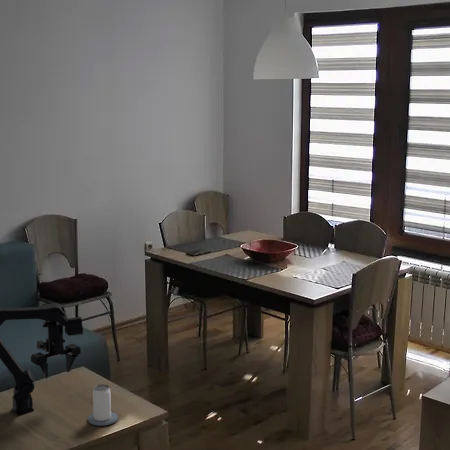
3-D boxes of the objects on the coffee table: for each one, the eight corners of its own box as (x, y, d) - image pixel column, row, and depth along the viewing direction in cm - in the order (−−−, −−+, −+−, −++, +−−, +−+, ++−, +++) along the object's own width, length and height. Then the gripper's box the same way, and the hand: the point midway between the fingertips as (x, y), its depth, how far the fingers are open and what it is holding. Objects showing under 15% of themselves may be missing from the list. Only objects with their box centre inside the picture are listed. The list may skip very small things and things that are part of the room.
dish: (98, 429, 252) (98, 427, 252) (82, 419, 260) (82, 416, 260) (123, 420, 259) (123, 418, 259) (107, 410, 267) (107, 408, 267)
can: (107, 422, 255) (106, 391, 253) (91, 420, 256) (90, 390, 254) (113, 414, 262) (112, 384, 259) (97, 413, 263) (96, 383, 261)
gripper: (66, 326, 277) (68, 363, 280) (23, 336, 265) (25, 375, 267) (81, 333, 269) (82, 371, 272) (36, 344, 256) (38, 384, 259)
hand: (57, 375), depth 268 cm, fingers open, 9 cm apart
